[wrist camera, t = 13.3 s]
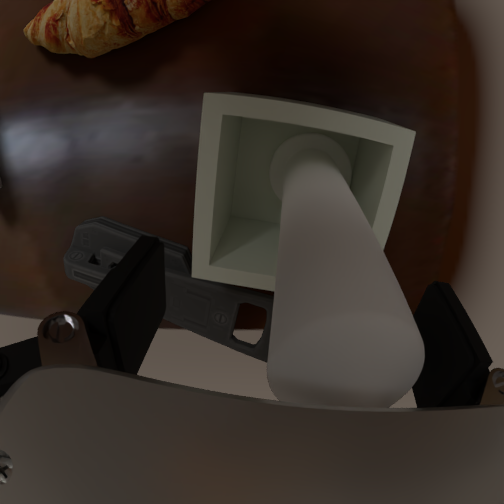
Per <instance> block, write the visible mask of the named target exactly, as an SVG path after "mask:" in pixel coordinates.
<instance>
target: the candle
mask: <svg viewBox="0 0 504 504" xmlns="http://www.w3.org/2000/svg"><path fill="white" fill-rule="evenodd" d="M269 178H270V183H271V186H272V189H273V191H274V192H275V194H276V196H277V197H278V198H279V199H280V200H281V201H282V210H281V223H280V235H279V247H278V258H277V270H276V281H275V291H274V302H273V312H272V322H271V332H270V342H269V352H268V361H267V378H268V382H269V386H270V388H271V390H272V392H273V393H274V395H275V396H276V397H277V399H278V400H279V401H284V402H293V403H303V404H314V405H327V406H343V407H367V408H389V407H390V406H391V405H393V404H394V403H395V402H397V401H398V400H399V399H400V398H402V397H403V396H404V395H405V394H406V393H407V392H408V391H409V390H410V389H411V388H412V386H413V385H414V384H415V382H416V381H417V379H418V377H419V375H420V373H421V371H422V368H423V365H424V359H425V351H424V343H423V340H422V337H421V335H420V332H419V330H418V327H417V325H416V322H415V320H414V318H413V315H412V313H411V311H410V308H409V306H408V304H407V301H406V299H405V297H404V295H403V292H402V290H401V288H400V286H399V284H398V281H397V279H396V277H395V275H394V273H393V271H392V269H391V266H390V264H389V262H388V260H387V258H386V256H385V254H384V252H383V250H382V248H381V246H380V244H379V242H378V240H377V238H376V236H375V234H374V232H373V230H372V228H371V227H370V225H369V223H368V221H367V219H366V217H365V215H364V213H363V212H362V210H361V208H360V206H359V204H358V202H357V201H356V199H355V197H354V195H353V193H352V192H351V190H350V188H349V187H350V184H351V179H352V168H351V163H350V160H349V158H348V155H347V154H346V152H345V151H344V149H343V148H342V147H341V146H340V145H339V144H338V143H337V142H336V141H335V140H333V139H331V138H330V137H328V136H325V135H323V134H319V133H301V134H297V135H295V136H292V137H290V138H289V139H287V140H286V141H284V142H283V143H282V144H281V145H280V146H279V147H278V148H277V150H276V151H275V153H274V155H273V157H272V159H271V163H270V168H269Z"/></svg>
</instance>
